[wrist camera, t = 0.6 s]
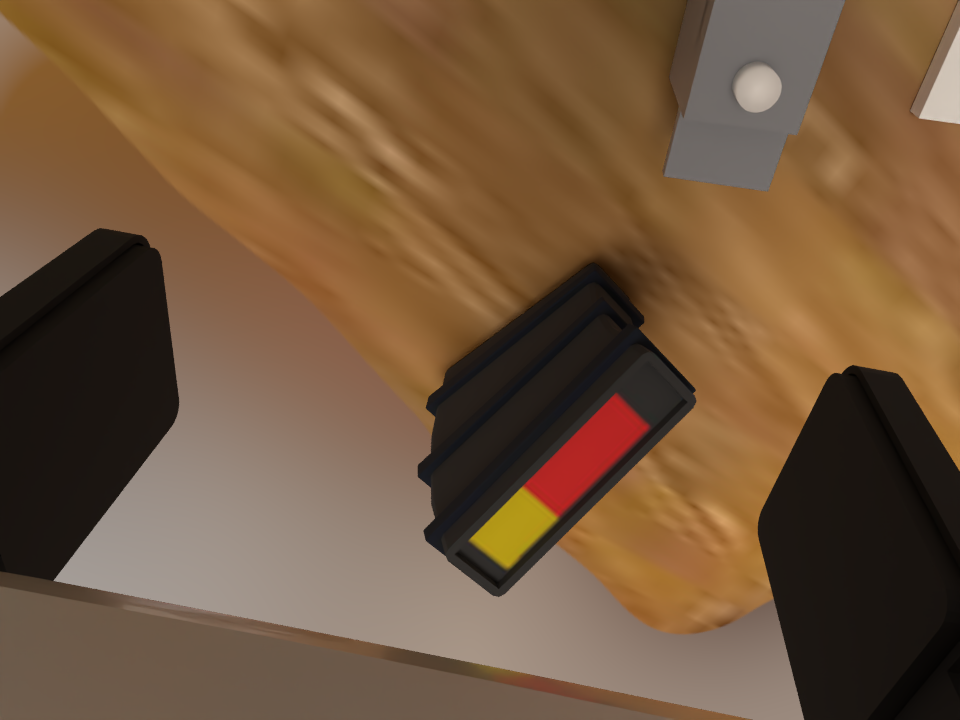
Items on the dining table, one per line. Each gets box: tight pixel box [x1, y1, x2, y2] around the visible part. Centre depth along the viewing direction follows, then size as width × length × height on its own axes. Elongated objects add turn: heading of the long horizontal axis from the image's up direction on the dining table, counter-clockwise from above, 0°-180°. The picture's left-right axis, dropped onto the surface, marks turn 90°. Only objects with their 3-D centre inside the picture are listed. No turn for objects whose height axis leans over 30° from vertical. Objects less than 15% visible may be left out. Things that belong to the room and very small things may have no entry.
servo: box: [663, 0, 845, 191], centre depth 26 cm, size 11×4×7 cm, turn 174°
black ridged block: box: [418, 263, 696, 597], centre depth 34 cm, size 4×13×15 cm, turn 134°
